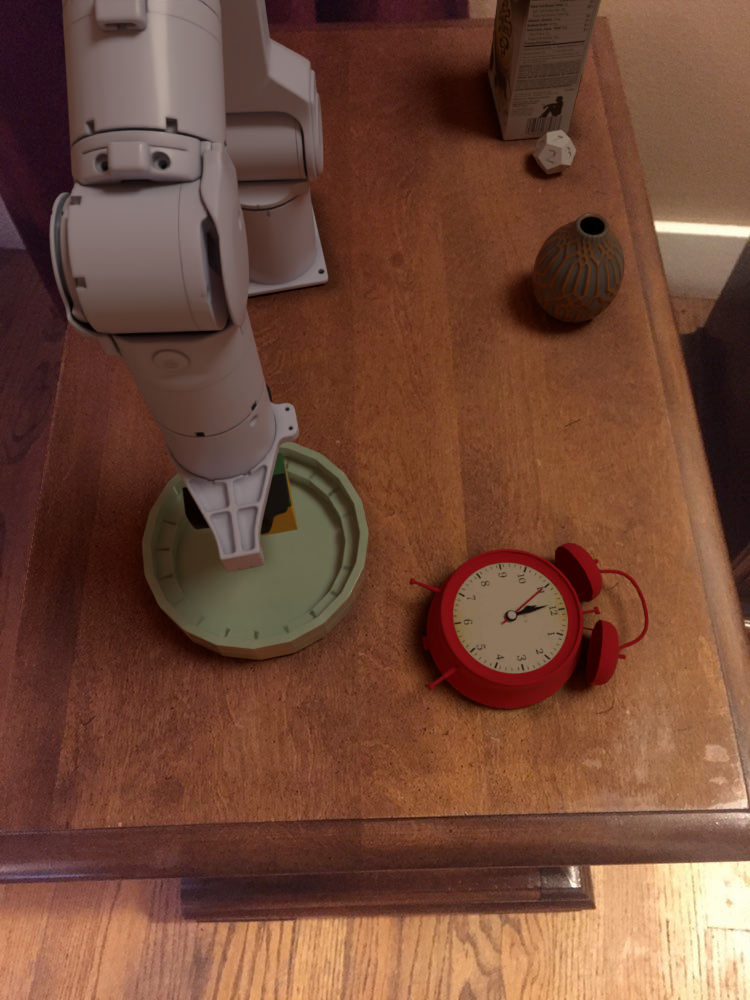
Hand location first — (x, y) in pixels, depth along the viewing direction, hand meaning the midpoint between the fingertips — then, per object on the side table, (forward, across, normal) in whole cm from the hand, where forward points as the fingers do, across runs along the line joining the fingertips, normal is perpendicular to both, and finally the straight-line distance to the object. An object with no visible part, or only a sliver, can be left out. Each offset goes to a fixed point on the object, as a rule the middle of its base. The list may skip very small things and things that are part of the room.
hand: (249, 502), depth 52 cm
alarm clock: (+8, -10, -17) cm, 21 cm away
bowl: (+8, -1, 0) cm, 8 cm away
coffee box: (+8, +39, -31) cm, 51 cm away
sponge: (+2, 0, 0) cm, 2 cm away
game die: (+8, +31, -31) cm, 45 cm away
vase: (+8, +16, -28) cm, 33 cm away
